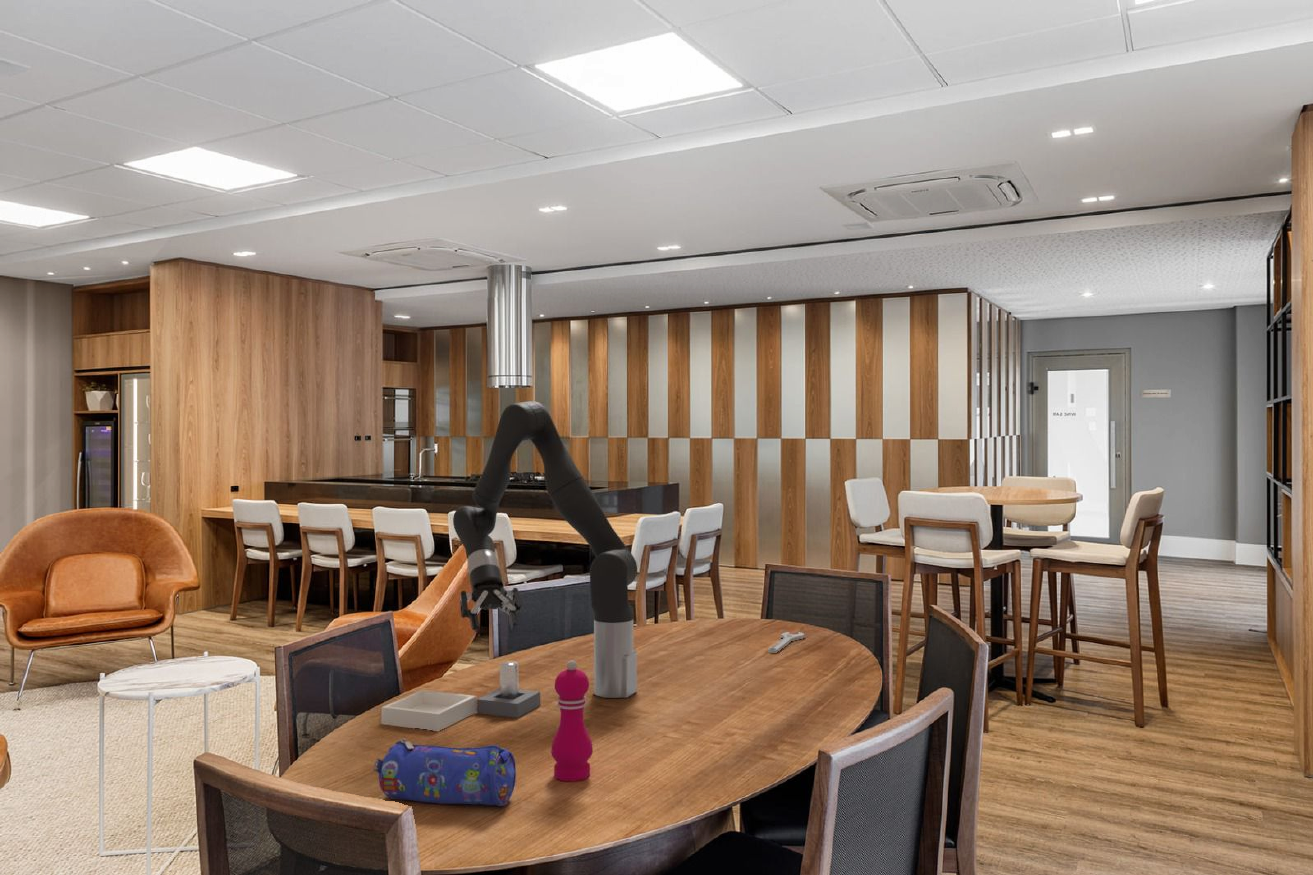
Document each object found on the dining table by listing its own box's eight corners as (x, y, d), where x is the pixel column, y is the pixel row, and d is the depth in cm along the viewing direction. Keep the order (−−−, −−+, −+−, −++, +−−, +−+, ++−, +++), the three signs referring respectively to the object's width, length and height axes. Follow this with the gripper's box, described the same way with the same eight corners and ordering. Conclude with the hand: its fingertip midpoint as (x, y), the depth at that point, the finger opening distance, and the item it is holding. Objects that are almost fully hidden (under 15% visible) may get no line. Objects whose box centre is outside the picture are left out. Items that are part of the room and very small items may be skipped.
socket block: (540, 705, 198) (540, 691, 198) (517, 718, 188) (517, 703, 188) (501, 700, 201) (501, 687, 201) (477, 713, 192) (477, 699, 192)
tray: (476, 712, 193) (476, 696, 193) (438, 731, 180) (438, 714, 180) (422, 705, 198) (422, 690, 198) (381, 724, 185) (381, 707, 185)
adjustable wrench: (776, 656, 246) (776, 649, 246) (754, 653, 249) (754, 647, 249) (806, 638, 268) (806, 632, 268) (786, 636, 271) (786, 630, 271)
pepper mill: (552, 768, 159) (551, 656, 159) (592, 767, 159) (592, 655, 160) (550, 783, 152) (550, 666, 152) (593, 782, 152) (592, 665, 152)
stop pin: (521, 707, 196) (521, 662, 196) (512, 712, 192) (512, 666, 192) (505, 705, 198) (505, 660, 198) (496, 710, 194) (496, 664, 194)
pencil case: (371, 806, 143) (371, 746, 143) (397, 786, 151) (397, 729, 151) (501, 816, 139) (501, 755, 139) (520, 795, 147) (520, 737, 147)
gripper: (457, 564, 211) (467, 621, 200) (516, 561, 217) (528, 617, 206) (453, 583, 216) (462, 640, 205) (510, 580, 222) (522, 635, 211)
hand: (495, 628), depth 206 cm, fingers open, 8 cm apart
